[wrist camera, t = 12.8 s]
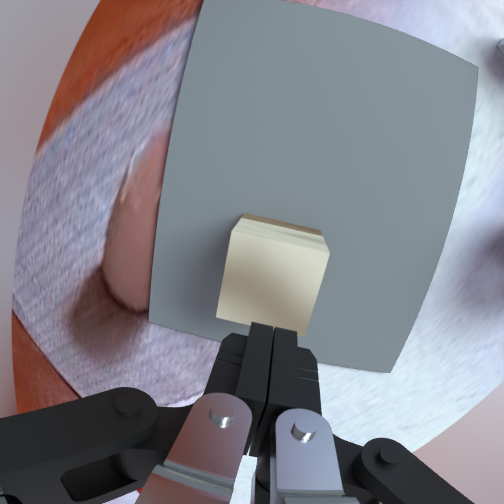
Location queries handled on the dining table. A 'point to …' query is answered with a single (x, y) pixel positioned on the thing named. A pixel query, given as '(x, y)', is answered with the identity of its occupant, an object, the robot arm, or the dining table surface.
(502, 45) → the lighter
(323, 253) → the block
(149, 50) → the dining table surface
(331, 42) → the mat
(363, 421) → the dining table surface
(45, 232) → the dining table surface
